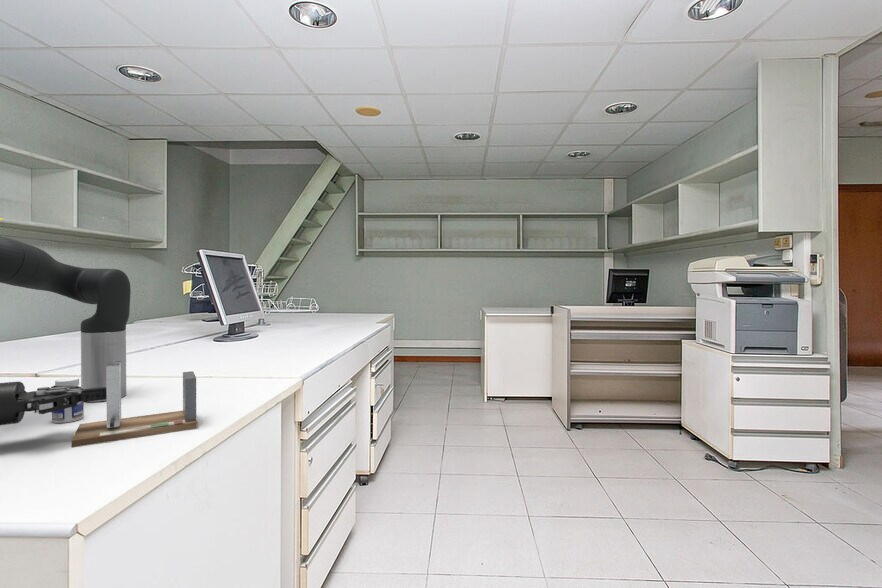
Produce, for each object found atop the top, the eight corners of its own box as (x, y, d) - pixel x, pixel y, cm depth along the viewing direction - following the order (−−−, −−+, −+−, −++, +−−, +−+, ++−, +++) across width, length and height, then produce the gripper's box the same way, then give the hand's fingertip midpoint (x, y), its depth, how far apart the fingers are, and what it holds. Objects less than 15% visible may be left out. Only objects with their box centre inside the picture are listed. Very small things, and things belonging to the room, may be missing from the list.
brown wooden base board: (79, 429, 89) (79, 422, 89) (192, 414, 100) (192, 407, 100) (71, 447, 80) (71, 439, 80) (196, 428, 91) (196, 421, 91)
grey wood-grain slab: (182, 412, 98) (182, 372, 97) (193, 410, 99) (193, 371, 98) (185, 422, 91) (185, 379, 91) (196, 420, 92) (196, 377, 92)
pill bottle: (82, 414, 99) (81, 375, 99) (85, 420, 95) (84, 379, 95) (50, 419, 95) (50, 378, 95) (52, 425, 91) (52, 383, 91)
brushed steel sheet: (109, 419, 90) (108, 361, 90) (121, 418, 91) (120, 360, 91) (105, 433, 82) (104, 369, 82) (118, 431, 83) (118, 368, 83)
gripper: (-28, 392, 72) (104, 380, 82) (-4, 377, 83) (110, 368, 93) (-27, 437, 72) (104, 420, 82) (-3, 416, 83) (110, 403, 93)
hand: (107, 392), depth 87 cm, fingers closed
